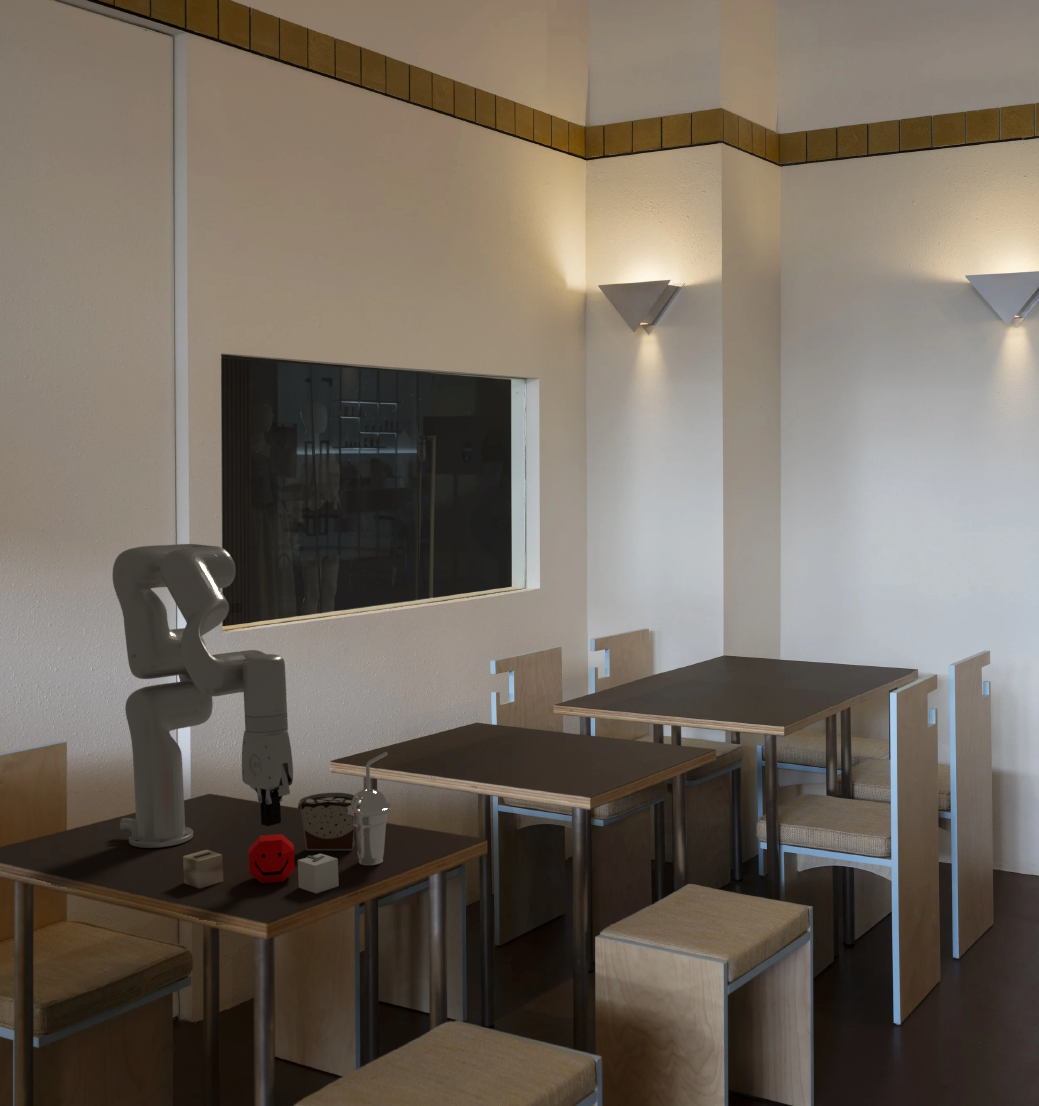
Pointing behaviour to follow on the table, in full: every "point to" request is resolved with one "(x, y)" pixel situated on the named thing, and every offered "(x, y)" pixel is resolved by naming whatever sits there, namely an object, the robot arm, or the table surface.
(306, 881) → the off-white block numbered 7
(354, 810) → the cup with straw
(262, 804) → the robot arm
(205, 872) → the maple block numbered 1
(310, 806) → the food container
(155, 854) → the table surface
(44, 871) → the table surface
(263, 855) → the ball
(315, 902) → the table surface
